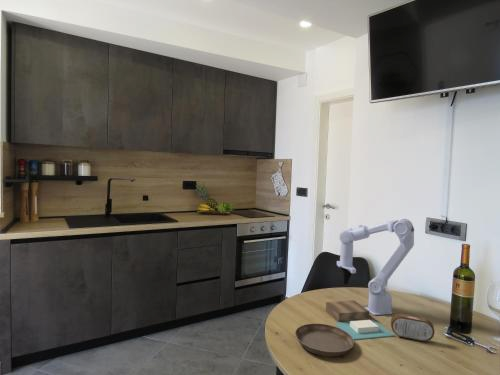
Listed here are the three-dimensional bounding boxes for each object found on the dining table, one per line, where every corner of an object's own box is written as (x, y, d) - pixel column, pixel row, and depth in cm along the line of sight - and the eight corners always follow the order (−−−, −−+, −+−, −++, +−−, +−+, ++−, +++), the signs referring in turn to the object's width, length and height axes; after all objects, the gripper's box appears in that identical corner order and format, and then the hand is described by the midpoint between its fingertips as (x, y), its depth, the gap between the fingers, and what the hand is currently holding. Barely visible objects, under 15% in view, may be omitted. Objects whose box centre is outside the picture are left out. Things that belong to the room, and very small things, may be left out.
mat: (373, 320, 142) (373, 319, 142) (394, 336, 129) (394, 335, 129) (334, 323, 138) (334, 322, 138) (352, 340, 125) (352, 339, 125)
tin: (432, 340, 126) (434, 319, 126) (434, 344, 123) (436, 322, 123) (389, 332, 131) (391, 311, 131) (390, 335, 128) (392, 314, 128)
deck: (353, 309, 154) (354, 300, 154) (368, 320, 142) (369, 311, 142) (325, 311, 151) (326, 302, 150) (338, 322, 139) (339, 313, 139)
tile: (378, 326, 132) (378, 331, 132) (369, 319, 137) (369, 324, 137) (358, 328, 129) (357, 333, 130) (350, 321, 135) (349, 326, 135)
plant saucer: (345, 332, 131) (345, 324, 131) (361, 362, 111) (361, 352, 110) (292, 329, 132) (292, 321, 132) (298, 359, 111) (298, 349, 111)
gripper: (331, 252, 166) (330, 279, 166) (346, 259, 151) (345, 289, 152) (344, 251, 167) (343, 278, 168) (360, 259, 153) (359, 288, 154)
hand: (345, 283), depth 160 cm, fingers closed
